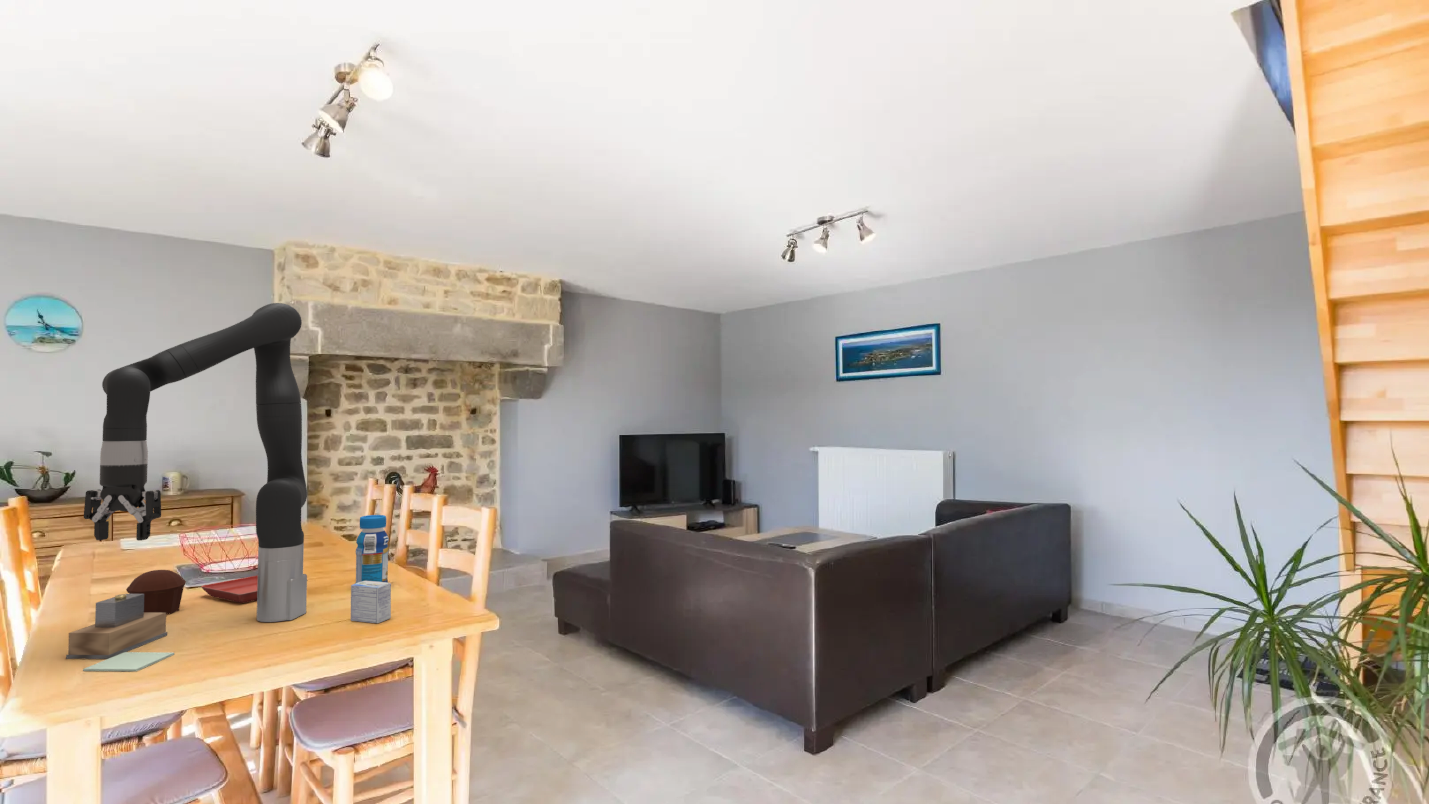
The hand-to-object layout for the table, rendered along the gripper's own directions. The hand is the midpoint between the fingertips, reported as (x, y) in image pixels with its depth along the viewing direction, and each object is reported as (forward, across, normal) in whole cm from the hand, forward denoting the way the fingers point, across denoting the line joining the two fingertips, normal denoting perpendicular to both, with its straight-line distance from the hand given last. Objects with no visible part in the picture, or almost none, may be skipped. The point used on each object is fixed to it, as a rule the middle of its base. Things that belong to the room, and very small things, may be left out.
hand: (122, 539), depth 141 cm
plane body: (+22, 0, 0) cm, 22 cm away
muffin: (+22, +12, -24) cm, 35 cm away
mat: (+22, -10, +9) cm, 26 cm away
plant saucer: (+23, 0, -42) cm, 48 cm away
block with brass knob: (+17, 0, 0) cm, 17 cm away
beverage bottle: (+22, -28, -49) cm, 61 cm away
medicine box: (+22, -43, -20) cm, 52 cm away
